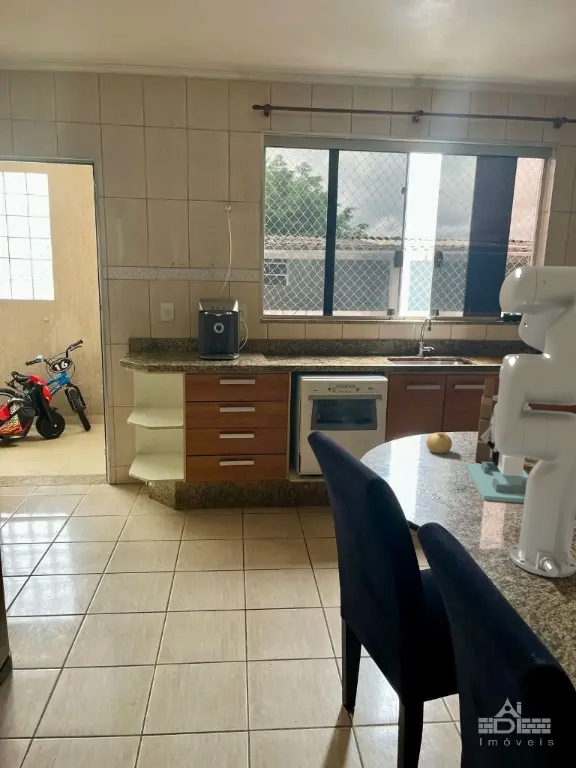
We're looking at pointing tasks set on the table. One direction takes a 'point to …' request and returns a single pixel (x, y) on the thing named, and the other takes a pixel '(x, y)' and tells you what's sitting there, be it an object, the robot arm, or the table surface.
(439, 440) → the onion
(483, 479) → the cradle
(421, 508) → the table surface
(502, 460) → the white pillar block
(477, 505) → the table surface
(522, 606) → the table surface
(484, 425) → the wooden toy
